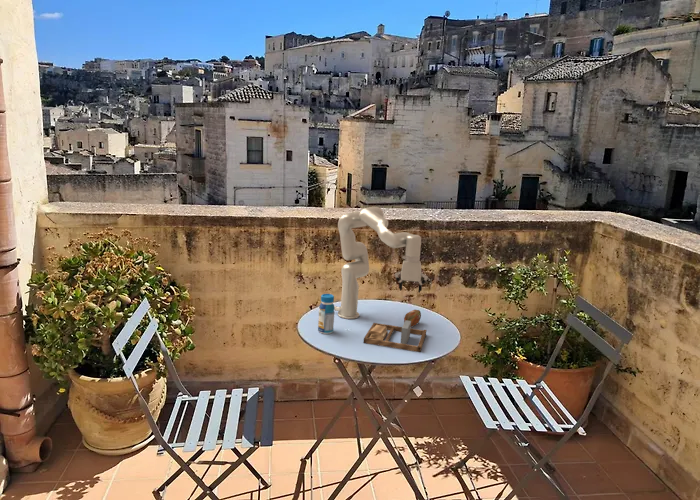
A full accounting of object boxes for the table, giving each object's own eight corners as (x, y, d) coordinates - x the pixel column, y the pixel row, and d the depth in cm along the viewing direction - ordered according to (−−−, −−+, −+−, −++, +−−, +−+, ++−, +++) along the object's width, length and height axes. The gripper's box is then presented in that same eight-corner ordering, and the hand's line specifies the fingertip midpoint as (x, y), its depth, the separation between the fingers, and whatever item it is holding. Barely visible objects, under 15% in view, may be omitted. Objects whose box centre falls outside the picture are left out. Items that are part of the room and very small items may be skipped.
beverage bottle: (331, 335, 283) (333, 298, 278) (315, 333, 284) (317, 296, 280) (335, 329, 291) (337, 294, 286) (319, 327, 292) (321, 292, 288)
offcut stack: (368, 340, 281) (369, 331, 280) (374, 331, 293) (375, 323, 292) (382, 342, 279) (383, 333, 278) (387, 333, 291) (388, 325, 290)
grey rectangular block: (400, 344, 277) (401, 327, 275) (404, 336, 289) (405, 320, 287) (406, 345, 277) (407, 328, 275) (409, 337, 288) (411, 321, 286)
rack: (363, 342, 276) (363, 337, 275) (373, 326, 299) (373, 321, 298) (420, 352, 269) (420, 346, 268) (425, 335, 292) (426, 329, 291)
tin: (407, 329, 299) (408, 315, 297) (402, 327, 300) (403, 313, 298) (420, 322, 310) (422, 308, 308) (416, 321, 312) (417, 307, 310)
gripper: (394, 258, 276) (392, 291, 280) (428, 262, 272) (426, 294, 276) (396, 255, 283) (394, 287, 287) (429, 258, 279) (427, 290, 283)
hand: (410, 290), depth 281 cm, fingers open, 9 cm apart
